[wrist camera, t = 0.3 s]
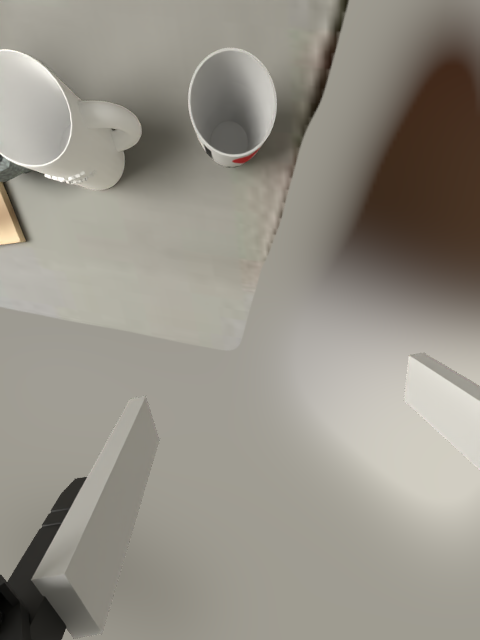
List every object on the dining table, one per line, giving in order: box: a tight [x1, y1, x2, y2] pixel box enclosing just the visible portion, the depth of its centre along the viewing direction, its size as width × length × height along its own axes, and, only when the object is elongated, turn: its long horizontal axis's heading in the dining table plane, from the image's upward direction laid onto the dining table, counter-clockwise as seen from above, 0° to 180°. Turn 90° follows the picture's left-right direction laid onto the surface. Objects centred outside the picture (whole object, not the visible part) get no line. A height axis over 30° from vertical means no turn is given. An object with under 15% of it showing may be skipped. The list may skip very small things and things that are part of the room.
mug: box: [0, 49, 142, 190], centre depth 26 cm, size 8×12×12 cm
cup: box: [188, 48, 277, 167], centre depth 27 cm, size 8×8×10 cm
